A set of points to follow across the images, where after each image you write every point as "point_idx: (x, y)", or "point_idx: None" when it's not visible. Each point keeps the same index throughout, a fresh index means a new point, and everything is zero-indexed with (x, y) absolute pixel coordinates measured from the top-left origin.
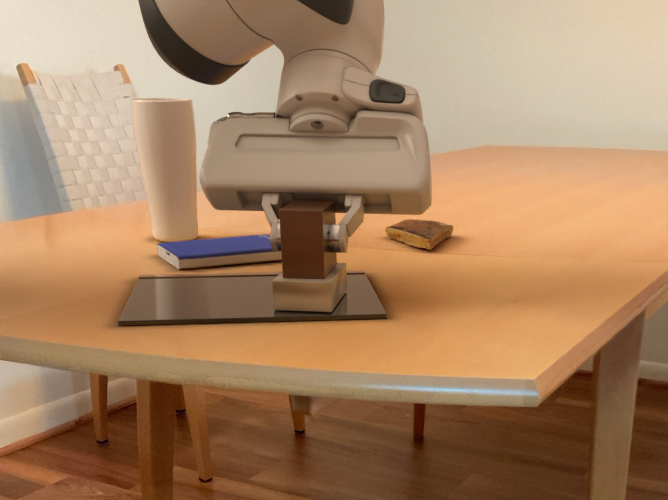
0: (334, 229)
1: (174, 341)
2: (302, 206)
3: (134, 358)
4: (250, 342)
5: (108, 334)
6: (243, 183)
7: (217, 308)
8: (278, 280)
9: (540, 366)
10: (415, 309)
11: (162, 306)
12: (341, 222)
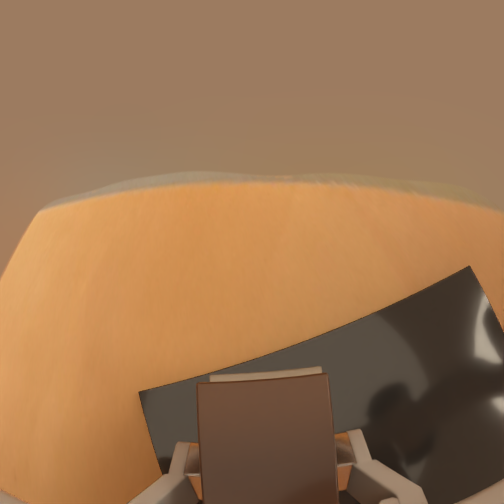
0: (198, 465)
1: (380, 230)
2: (276, 448)
3: (380, 177)
4: (296, 245)
5: (454, 238)
6: (494, 492)
7: (401, 361)
8: (309, 370)
9: (24, 241)
10: (110, 449)
11: (468, 344)
12: (179, 478)
